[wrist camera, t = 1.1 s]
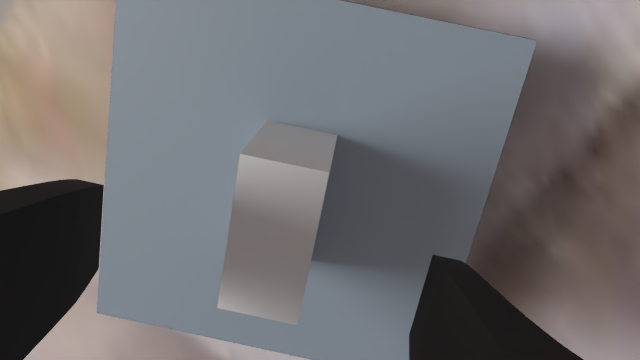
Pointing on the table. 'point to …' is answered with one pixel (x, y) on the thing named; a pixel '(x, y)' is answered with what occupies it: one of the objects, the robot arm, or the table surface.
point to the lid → (296, 167)
